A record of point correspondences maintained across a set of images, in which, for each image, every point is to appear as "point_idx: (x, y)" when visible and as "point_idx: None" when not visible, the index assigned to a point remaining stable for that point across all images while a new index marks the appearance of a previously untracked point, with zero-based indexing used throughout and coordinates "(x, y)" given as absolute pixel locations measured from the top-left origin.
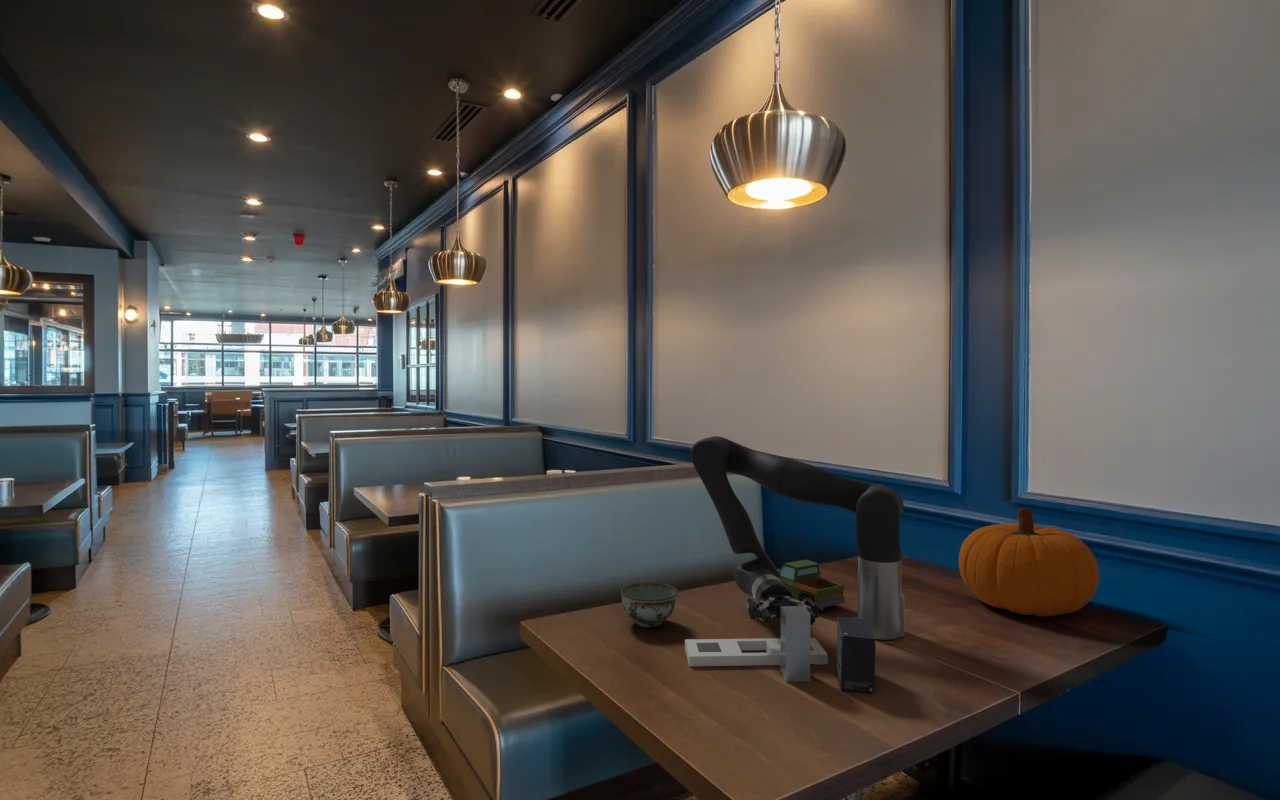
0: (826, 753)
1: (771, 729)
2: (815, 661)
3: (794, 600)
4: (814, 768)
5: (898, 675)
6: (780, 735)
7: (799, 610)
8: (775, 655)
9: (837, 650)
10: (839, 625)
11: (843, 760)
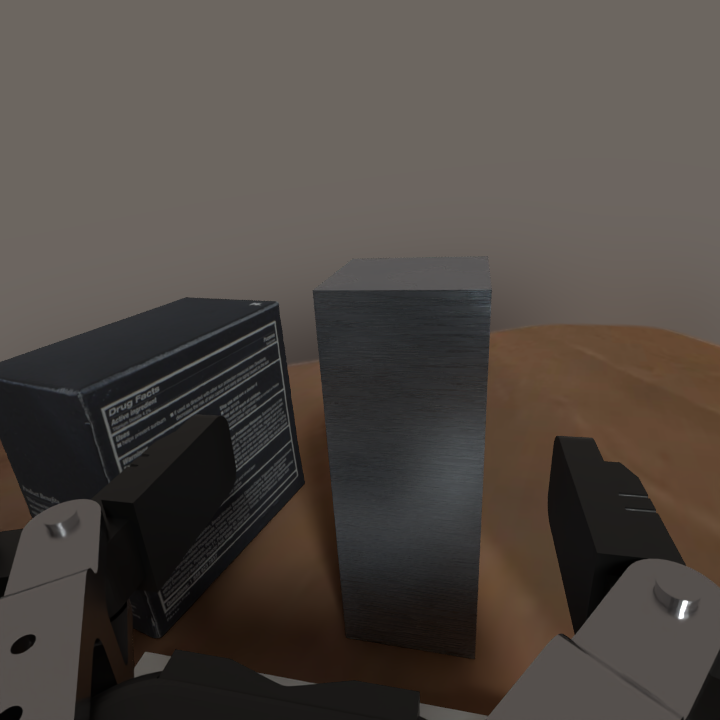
0: None
1: (570, 392)
2: None
3: (20, 667)
4: (506, 339)
5: None
6: (551, 380)
7: (386, 270)
8: (487, 716)
9: None
10: (200, 337)
11: None
